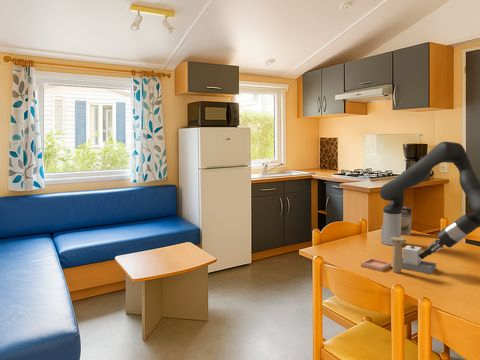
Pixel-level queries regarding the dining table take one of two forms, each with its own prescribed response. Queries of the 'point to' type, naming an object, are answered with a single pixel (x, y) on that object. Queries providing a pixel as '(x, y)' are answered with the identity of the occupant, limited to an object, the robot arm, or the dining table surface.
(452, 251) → the dining table surface
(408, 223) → the coffee box
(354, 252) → the dining table surface
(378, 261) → the tray
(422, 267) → the blue-grey shallow bin
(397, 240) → the handle
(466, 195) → the robot arm
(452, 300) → the dining table surface
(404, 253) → the cover
